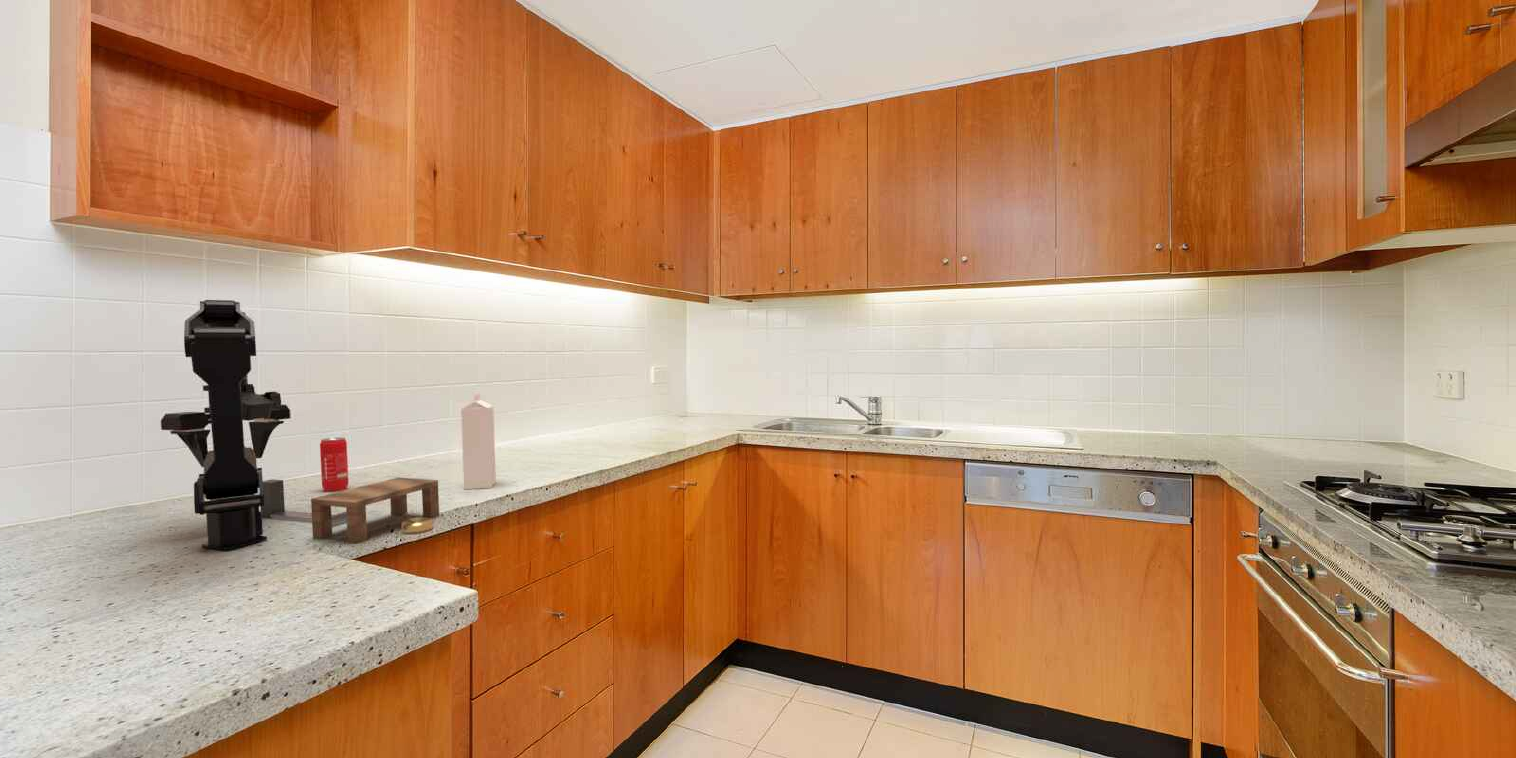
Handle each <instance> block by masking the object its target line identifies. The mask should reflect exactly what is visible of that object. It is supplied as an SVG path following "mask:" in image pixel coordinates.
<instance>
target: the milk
mask: <svg viewBox="0 0 1516 758" xmlns="http://www.w3.org/2000/svg"><path fill="white" fill-rule="evenodd" d="M473 399H474V400H473V401H472V402H471V403H469V404H467V405H466V406H464V407H461V409H460V413H461V414H460V416H461V441H462V442H461V443H462V445H461V446H462V462H463V463H462V469H463V472H462V473H463V489H464V490H480V489H481V488H482V489H492V487H493V486H494V485H495V484H496V483H497V477H496V476H497V473H496V450H495V445H496V443H495V421H494V420H495V419H494V416H495V415H494V406H493V404H490V403H488V402H486V401H485V400H482V399H481V394H480V393H476V394H474V395H473Z"/></svg>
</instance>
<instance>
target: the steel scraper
mask: <svg viewBox="0 0 1516 758" xmlns="http://www.w3.org/2000/svg"><path fill="white" fill-rule="evenodd" d="M263 494H264V506H262V507H260V512H262V518H267V519H274V520H285V521H292V522H293V521H295V522H303V523H312V512H309V511H307V512H306V511H296V510H286V507H285V506H286V505H285V491H284V480H283V479H267V480H263ZM331 518H332V528H333V527H336V526H340V525H344V524H347V515H346V511H342V512H339V513H336V514H331Z"/></svg>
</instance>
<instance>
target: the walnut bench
mask: <svg viewBox="0 0 1516 758" xmlns="http://www.w3.org/2000/svg"><path fill="white" fill-rule="evenodd" d="M418 491H421V495H422V496H421V498H422V502H421V503H422V517H427V518H431V519H433V518H436V517H439V516H440V499H439V480H438V479H427V478H426V479H425V478H424V479H423V478H409V477H394V478H390V479H387V480H383V481H379V482H373V483H370V484H366V485H363V486H358V487H353V488H349V489H345V490H341V491H336V492H333V493H329V494H326V495H320V496H318V497H312V498H310V504H311V506H310V507H311V509H310V510H311V513H312V522H311V526H312V539H315V538H316V540H323V538H324V539H326V538H325V537H327V538H329V537H328V536H330V537H333V527H332V518H331V515H332V507H339V508H345V510H346V511H345V512H346V515H347V523H346V533H347V536H346V537H347V543H354V544H357V543H361V542H364V541H367V540H368V529H367V509H366V507H367V506H368V505H372V504H375V503H378V502H379V503H380V502H382V501H386V500H390V515H393V516H400V515H404V514H407V513H408V497H407V494H411V493H415V492H418Z"/></svg>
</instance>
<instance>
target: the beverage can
mask: <svg viewBox="0 0 1516 758" xmlns="http://www.w3.org/2000/svg"><path fill="white" fill-rule="evenodd" d="M319 449H320V450H319V452H320V453H319V454H320V455H319V456H320V470H321V488H322V489H323V490H324V492H326V493H328V492H329V493H330V492H333V493H335V492H341V491H345V490H348V486H349V465H348V462H349V461H348V444H347V439H346V438H345V437H330V438H329V437H327V438H322V439H321V440H320V443H319Z"/></svg>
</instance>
